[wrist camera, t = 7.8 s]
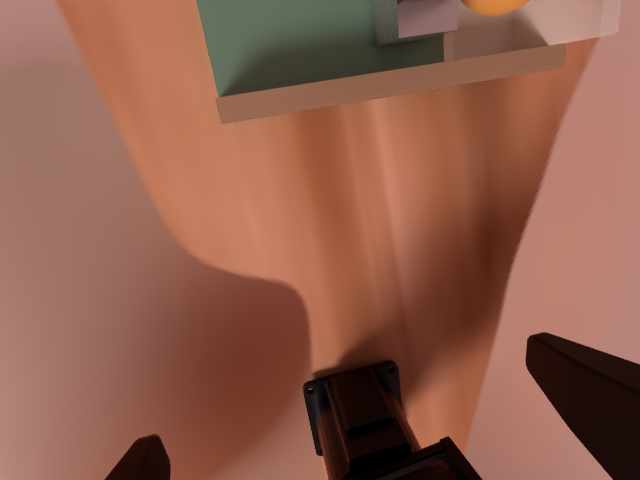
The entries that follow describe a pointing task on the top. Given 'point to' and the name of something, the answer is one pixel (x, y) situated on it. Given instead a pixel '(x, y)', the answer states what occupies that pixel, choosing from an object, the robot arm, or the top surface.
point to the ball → (494, 6)
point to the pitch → (376, 50)
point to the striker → (413, 20)
